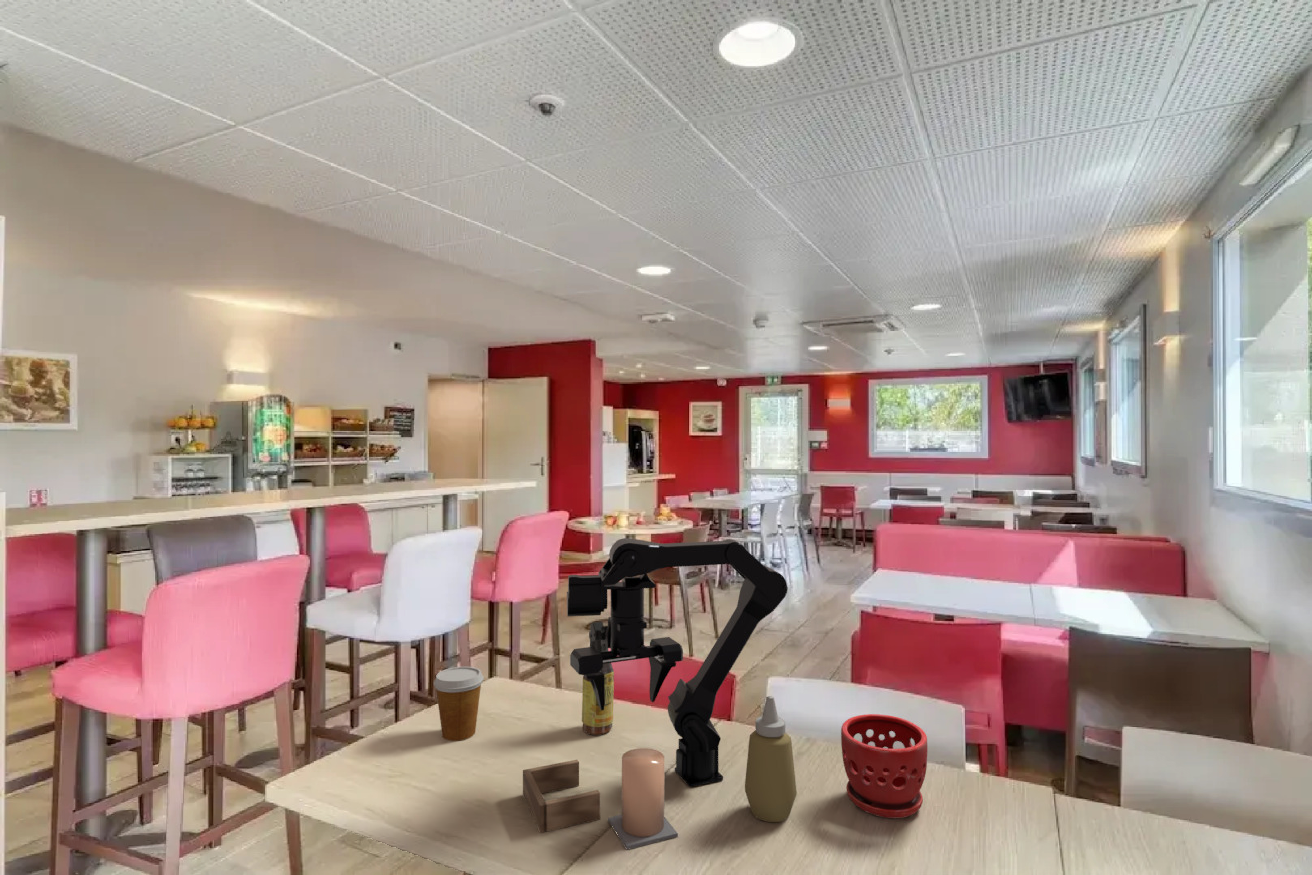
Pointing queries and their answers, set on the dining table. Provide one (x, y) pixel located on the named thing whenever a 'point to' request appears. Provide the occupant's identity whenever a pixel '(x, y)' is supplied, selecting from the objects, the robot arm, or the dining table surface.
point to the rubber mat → (637, 841)
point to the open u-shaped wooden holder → (560, 809)
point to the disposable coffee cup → (458, 701)
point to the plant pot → (884, 765)
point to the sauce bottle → (591, 713)
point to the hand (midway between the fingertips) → (627, 705)
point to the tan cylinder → (642, 792)
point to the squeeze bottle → (770, 767)
